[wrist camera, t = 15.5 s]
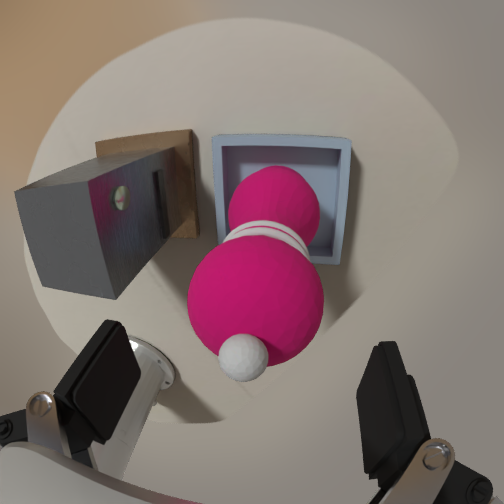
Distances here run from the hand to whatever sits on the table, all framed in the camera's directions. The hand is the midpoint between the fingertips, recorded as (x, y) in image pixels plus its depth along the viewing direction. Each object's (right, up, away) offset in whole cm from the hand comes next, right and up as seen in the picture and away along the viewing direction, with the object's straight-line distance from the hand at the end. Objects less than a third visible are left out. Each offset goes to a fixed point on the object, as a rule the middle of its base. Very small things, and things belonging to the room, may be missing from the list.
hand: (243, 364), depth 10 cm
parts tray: (+3, +9, +17) cm, 20 cm away
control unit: (-11, +11, +18) cm, 24 cm away
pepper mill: (+3, +9, +17) cm, 19 cm away
